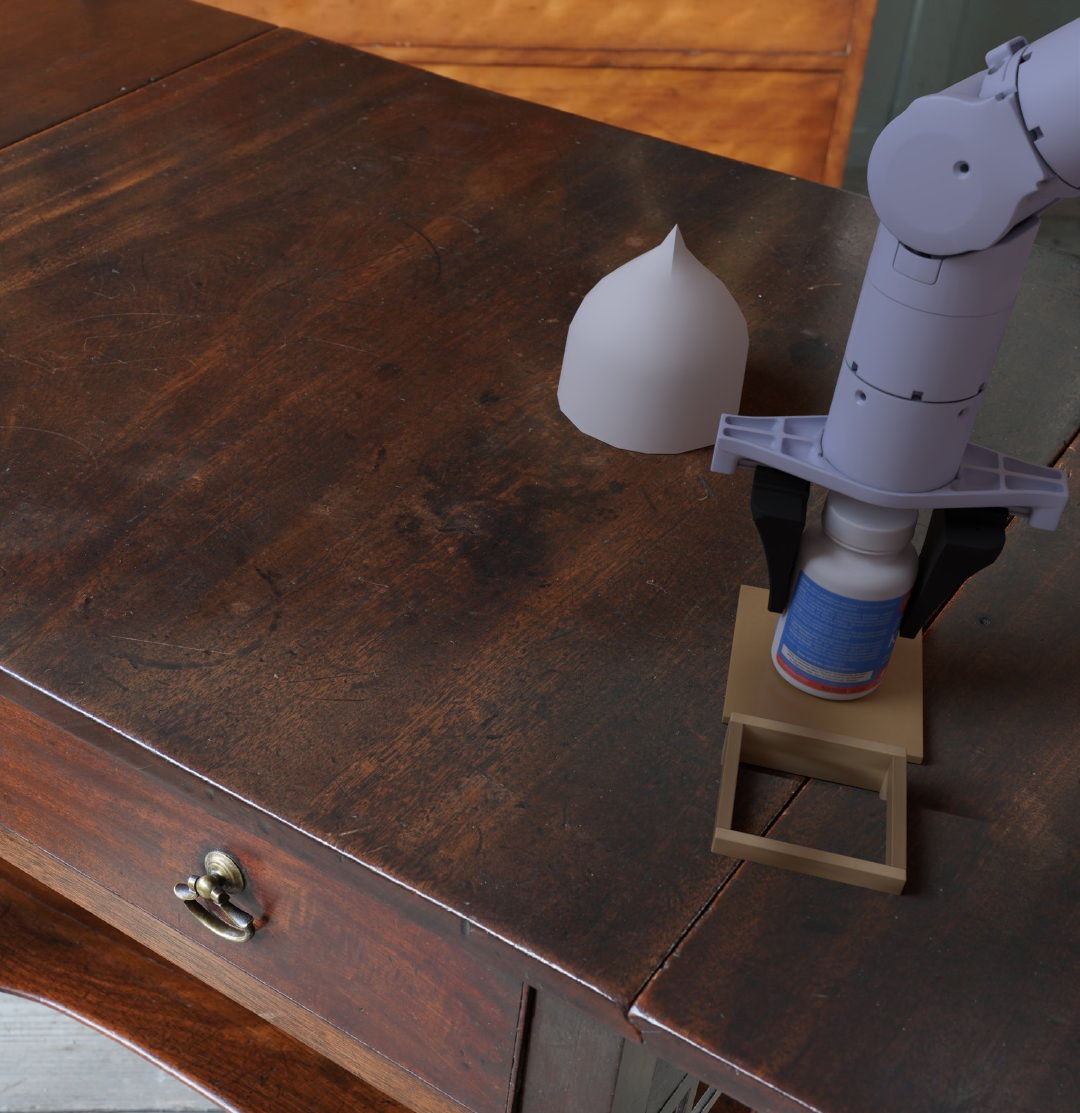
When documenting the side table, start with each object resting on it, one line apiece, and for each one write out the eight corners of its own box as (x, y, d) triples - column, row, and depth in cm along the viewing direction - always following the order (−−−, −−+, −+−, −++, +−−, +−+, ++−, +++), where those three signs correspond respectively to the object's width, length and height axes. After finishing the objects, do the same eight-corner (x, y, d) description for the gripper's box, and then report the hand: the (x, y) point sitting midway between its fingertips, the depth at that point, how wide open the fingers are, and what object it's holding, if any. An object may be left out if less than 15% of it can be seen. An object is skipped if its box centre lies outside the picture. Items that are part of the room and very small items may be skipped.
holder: (893, 785, 66) (907, 747, 64) (891, 918, 60) (906, 880, 59) (722, 749, 68) (731, 710, 66) (704, 875, 62) (714, 836, 60)
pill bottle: (896, 705, 69) (953, 544, 63) (782, 703, 69) (827, 542, 63) (866, 628, 73) (916, 470, 67) (759, 626, 73) (799, 468, 67)
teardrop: (647, 476, 84) (679, 290, 77) (520, 390, 91) (537, 212, 83) (777, 414, 89) (819, 234, 82) (647, 337, 96) (675, 165, 88)
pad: (919, 625, 74) (922, 618, 74) (920, 765, 67) (923, 757, 67) (739, 591, 76) (741, 583, 76) (721, 722, 69) (723, 715, 69)
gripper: (1094, 345, 62) (999, 589, 70) (745, 294, 65) (695, 533, 74) (1111, 436, 57) (1006, 687, 65) (730, 375, 60) (679, 622, 68)
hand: (841, 612), depth 69 cm, fingers closed on pill bottle, 5 cm apart
